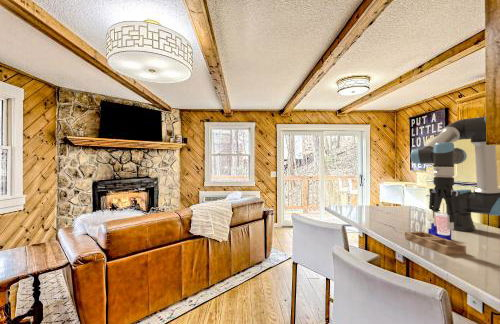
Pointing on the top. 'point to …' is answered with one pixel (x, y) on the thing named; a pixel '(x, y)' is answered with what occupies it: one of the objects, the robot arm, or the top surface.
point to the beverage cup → (442, 223)
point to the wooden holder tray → (436, 243)
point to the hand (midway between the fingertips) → (443, 227)
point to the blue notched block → (434, 232)
